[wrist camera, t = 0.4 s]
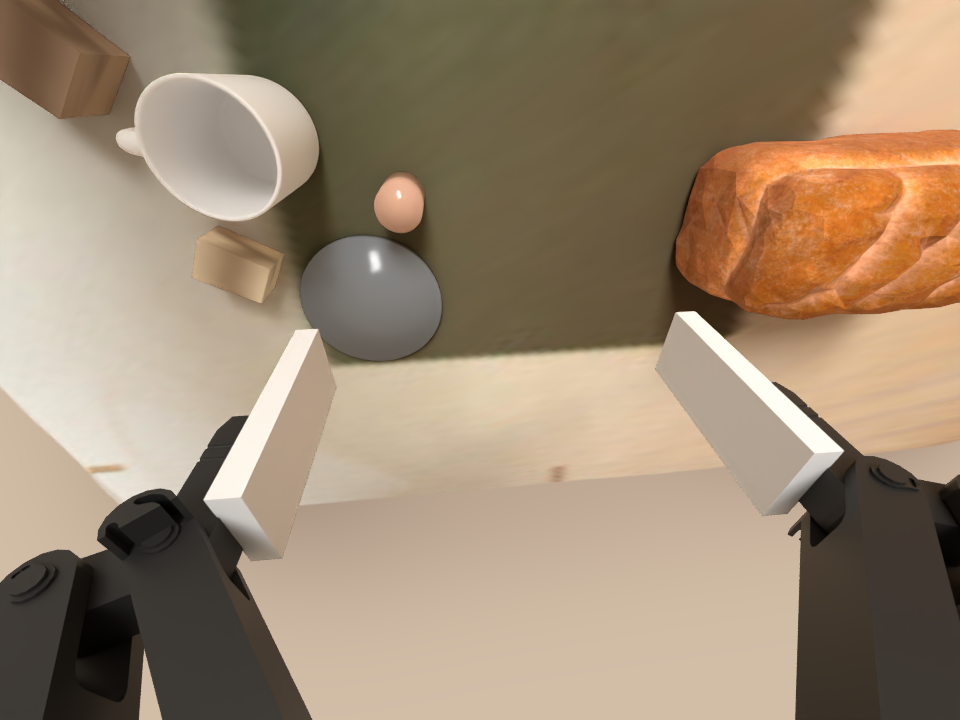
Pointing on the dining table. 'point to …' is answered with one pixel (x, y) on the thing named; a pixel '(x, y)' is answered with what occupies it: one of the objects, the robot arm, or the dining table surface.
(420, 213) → the peach egg shape
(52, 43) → the walnut block
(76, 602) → the robot arm
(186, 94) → the mug
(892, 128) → the dining table surface
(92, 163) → the dining table surface
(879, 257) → the bread
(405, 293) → the gray plate
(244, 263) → the beech block
